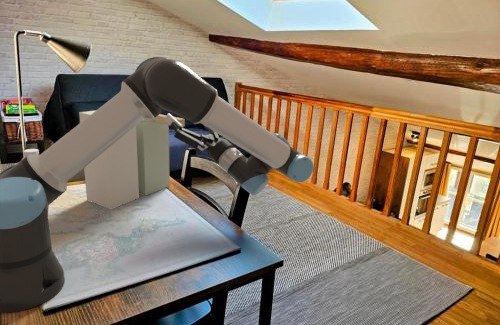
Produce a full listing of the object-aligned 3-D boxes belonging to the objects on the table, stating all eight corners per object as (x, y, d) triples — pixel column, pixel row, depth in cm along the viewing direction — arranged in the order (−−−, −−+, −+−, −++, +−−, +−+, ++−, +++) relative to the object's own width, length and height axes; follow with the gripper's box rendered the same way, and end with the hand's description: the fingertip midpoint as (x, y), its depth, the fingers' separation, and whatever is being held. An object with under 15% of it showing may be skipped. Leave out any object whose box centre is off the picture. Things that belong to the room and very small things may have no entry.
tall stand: (139, 198, 126) (135, 113, 117) (110, 209, 116) (103, 117, 108) (116, 190, 132) (111, 108, 123) (87, 200, 122) (79, 112, 114)
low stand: (169, 186, 139) (168, 119, 131) (145, 195, 129) (143, 123, 121) (147, 179, 144) (145, 115, 137) (123, 187, 135) (119, 118, 127)
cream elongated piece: (190, 125, 123) (190, 107, 121) (173, 128, 117) (173, 110, 115) (148, 117, 133) (148, 100, 131) (131, 119, 127) (130, 102, 125)
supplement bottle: (36, 187, 130) (31, 153, 127) (20, 185, 132) (15, 151, 128) (49, 181, 137) (45, 149, 133) (34, 179, 138) (30, 147, 134)
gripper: (252, 139, 121) (209, 101, 127) (206, 154, 101) (157, 108, 107) (242, 155, 125) (201, 118, 131) (195, 174, 104) (149, 128, 110)
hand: (181, 114), depth 119 cm, fingers open, 13 cm apart
